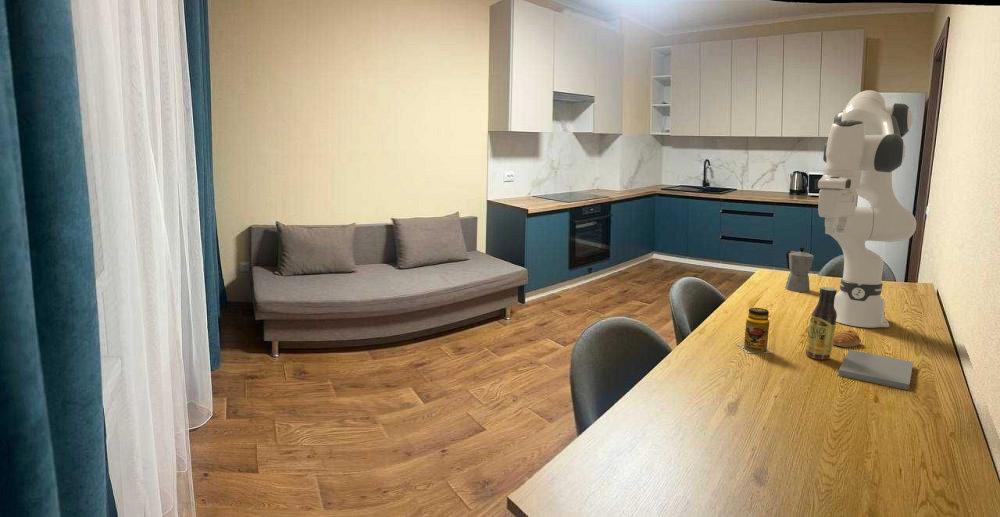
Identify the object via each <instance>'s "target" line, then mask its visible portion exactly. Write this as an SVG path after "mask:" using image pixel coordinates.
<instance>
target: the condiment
mask: <svg viewBox="0 0 1000 517" xmlns="http://www.w3.org/2000/svg"><path fill="white" fill-rule="evenodd" d="M769 313H770V312H769V310H768V309H767V308H766V309H765V308H762V307H751V308H749V309H748V314H747V317H746V322H745V329H744V330H745V331H744V342H743V343H735V344H736V345H737V346H739V348H740V349H741V350H743V351H745V350H746V351H745V352H746V353H748V354H774V353H773V351H772V350H770V349H768V339H769V330H770V328H769V327H770V320H769V317H770V316H769ZM743 346H744V349H743ZM747 351H748V352H747Z"/></svg>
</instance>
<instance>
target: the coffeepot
mask: <svg viewBox="0 0 1000 517" xmlns="http://www.w3.org/2000/svg"><path fill="white" fill-rule="evenodd" d="M804 250H805V248H804V247H802V246H801V247H799V251H796V250H790V249H789V250H788V251H786V253H785V258H786V268H787V269H788V270H790V273H788V277H787V281H786V283H785V287H784V288H785V289H786V290H787V291H790V292H794V293H809V292H810V291H811V290H810V276H809V272H810V271H811V269H812V265H813V261H814V258H815V255H813V254H811V253H808V252H805V251H804Z"/></svg>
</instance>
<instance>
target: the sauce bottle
mask: <svg viewBox="0 0 1000 517" xmlns="http://www.w3.org/2000/svg"><path fill="white" fill-rule="evenodd" d="M836 293H838V290H837V288H835V287H829V286H822V287H820V288H819V296H818V297H819V298H818V302H817V304H816V306H815V308H814V310H813V312H812V314H811V316H810V321H809V327H808V332H807V339H806V346H805V355H806V356H808V358H811V359H814V360H819V361H823V360H824V361H825V360H829V359H830V357H831V354H832V348H833V338H834V335H835V333H836V332H835V330H836V327H837V326H836V325H837V324H836V323H837V322H836V318H837V313H836V310H835V308H834V300H835V295H836Z"/></svg>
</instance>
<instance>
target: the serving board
mask: <svg viewBox="0 0 1000 517" xmlns="http://www.w3.org/2000/svg"><path fill="white" fill-rule="evenodd" d="M913 366H914V361H911V360H910V361H909V360H906V359H900V358H895V357H889V356H883V355H880V354H879V355H878V354H875V353H874V354H873V353H868V352H863V351H859V350H853V349H848V352H847V354H846V355H845V357H844V359H843V361H842V363H841V364H840V367H839V369H838V374H837V376H839V377H845V378H848V379H854V380H858V381H864V382H867V383H872V384H877V385H882V386H887V387H892V388H895V389H901V390H904V391H905V390H906V391H909V389H910V383H911V379H912V372H913Z"/></svg>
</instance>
